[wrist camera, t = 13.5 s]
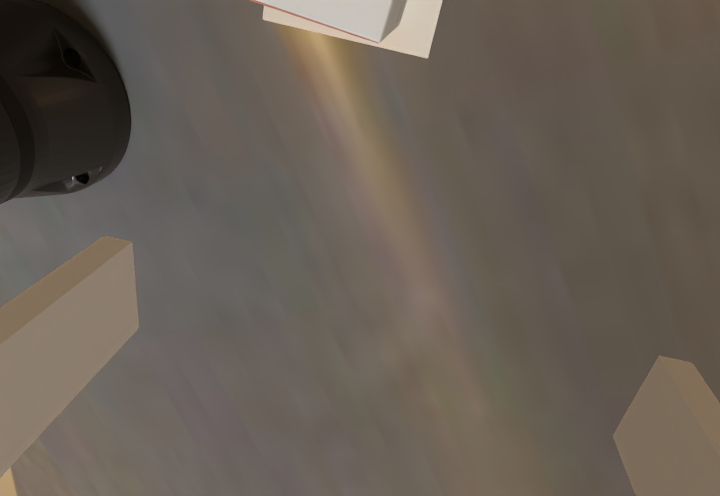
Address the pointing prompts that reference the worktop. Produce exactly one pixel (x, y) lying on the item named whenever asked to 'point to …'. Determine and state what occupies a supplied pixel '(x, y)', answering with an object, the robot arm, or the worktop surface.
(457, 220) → the worktop surface
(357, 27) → the small box
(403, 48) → the ceramic tile
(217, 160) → the worktop surface
